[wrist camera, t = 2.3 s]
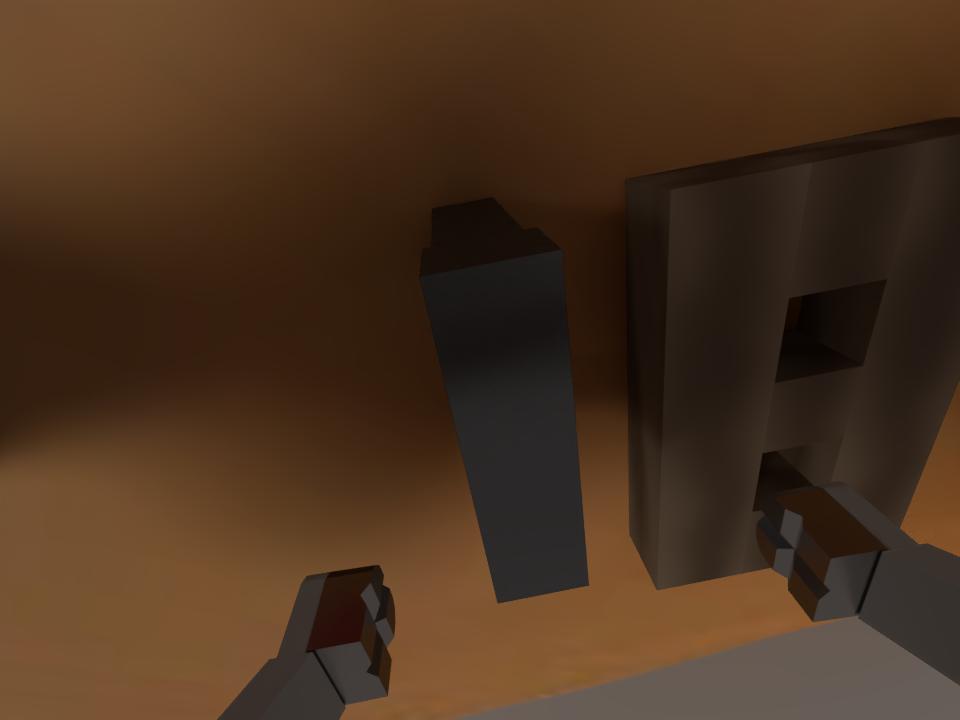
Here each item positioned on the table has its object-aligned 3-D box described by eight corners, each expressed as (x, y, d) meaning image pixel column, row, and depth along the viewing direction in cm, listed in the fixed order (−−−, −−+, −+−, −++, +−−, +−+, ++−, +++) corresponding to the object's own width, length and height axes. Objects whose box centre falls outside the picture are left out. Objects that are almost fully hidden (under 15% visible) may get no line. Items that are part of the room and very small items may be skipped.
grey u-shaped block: (472, 417, 23) (497, 603, 14) (426, 205, 18) (418, 277, 9) (527, 406, 23) (588, 585, 14) (496, 191, 18) (561, 249, 9)
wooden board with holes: (629, 534, 29) (656, 590, 25) (625, 179, 19) (670, 189, 15) (837, 493, 29) (893, 543, 25) (946, 117, 19) (1066, 113, 15)
